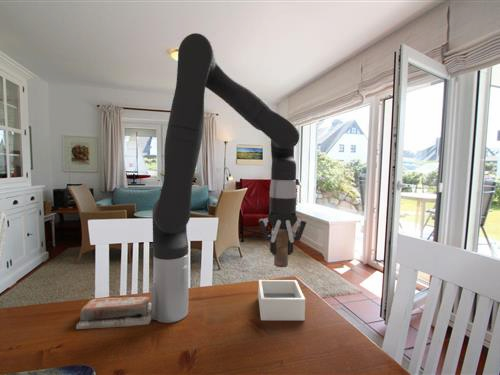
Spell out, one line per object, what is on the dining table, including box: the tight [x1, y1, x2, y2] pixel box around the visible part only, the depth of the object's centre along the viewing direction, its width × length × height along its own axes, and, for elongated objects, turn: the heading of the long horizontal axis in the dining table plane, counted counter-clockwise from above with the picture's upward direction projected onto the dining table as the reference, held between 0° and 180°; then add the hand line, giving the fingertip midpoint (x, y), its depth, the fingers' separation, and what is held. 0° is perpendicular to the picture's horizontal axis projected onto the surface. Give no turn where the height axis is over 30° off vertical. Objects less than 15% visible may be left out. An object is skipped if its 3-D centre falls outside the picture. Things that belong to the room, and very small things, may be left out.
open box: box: [257, 279, 306, 321], centre depth 77 cm, size 12×12×6 cm
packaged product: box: [75, 296, 152, 330], centre depth 72 cm, size 18×5×10 cm
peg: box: [273, 229, 289, 268], centre depth 76 cm, size 4×4×11 cm
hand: (281, 253), depth 76 cm, fingers closed on peg, 4 cm apart
